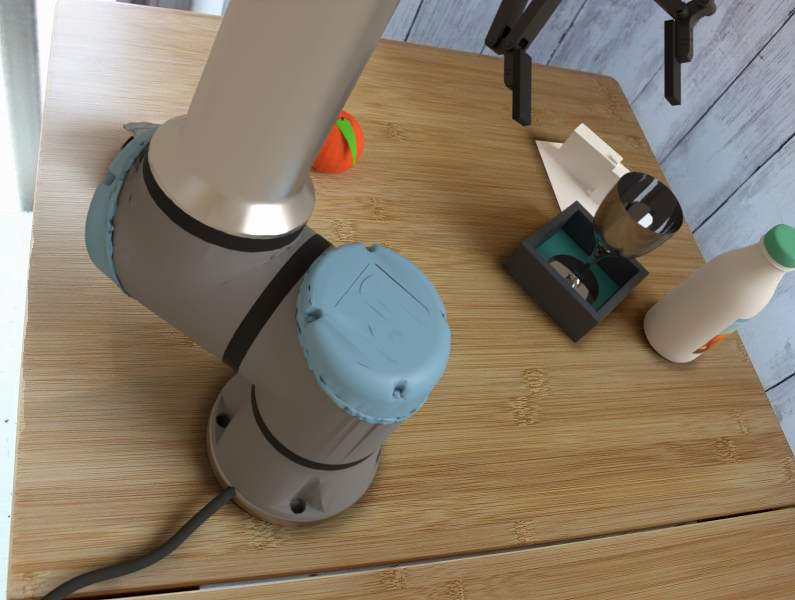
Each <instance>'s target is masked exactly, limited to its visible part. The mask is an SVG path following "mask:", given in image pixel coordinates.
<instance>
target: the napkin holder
mask: <svg viewBox="0 0 795 600" xmlns="http://www.w3.org/2000/svg"><path fill="white" fill-rule="evenodd" d="M535 144H536V146H537V149H538V153H539V155H540V157H541V160H542V163H543V165H544V168H545V171H546V174H547V176H548V178H549V182H550V185H551V187H552V190H553V193H554V195H555V198H556V201H557V203H558V206H559V208H560V211H561V212H562V211H563V210H565V209H566V208H567V207H569V206H570V205H571V204H572V203H574V202H575V201H576V200H577V201H578V202H579V203H580V204H581V205H582V206H583V207H584V208H585V209H586V210H587V211H588V212H589V213H590V214H591V215H592V216H593V217H594V216H595V213H596V211H597V208H598V206H599V205H600V203H601V201H602V199H603V198H604V196H605V195H606V193H607V192H608V191H609V190H610V189H611V187H612V186H613V185H614V184H615V183H616V182H617V181H618V180H619V179H620V177H622V176H623V175H624V174H626V173H629V172H631V171H630V170H629V169H628V168H627V167H626V166H624V165H623V164H622V163H621V162H622V161H623V160H624V157H622V156H621V155H620V154H619V153H618V152H617V151H616V150H614V149H613V148H612V147H611V146H609V144H608V143H606V141H604V140H603V139H602V138H600V136H598V135H597V134H596V133H595V132H593V130H592V129H590V128H589V127H588V126H587V125H586V124H584V123H583V122H582V123H581V124H579V125H578V126H577V127H575V129H574V130H573V131H572V132H571V134H570V135H569V136H568V137H567V139H566V140H565V141H564V142H562V143H561V142H554V141H546V140H545V141H544V140H535Z"/></svg>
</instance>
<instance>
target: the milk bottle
mask: <svg viewBox="0 0 795 600" xmlns="http://www.w3.org/2000/svg"><path fill="white" fill-rule="evenodd" d="M793 271H795V227H793V226H791V225H789V224H785V223H779V224H776V225H774V226H772V227H771V228H770V229H769V230H768V231H767V232H766V233H765V234H763V235H761V237H760V238H759V241H757V242H755V243H753V244H751V245H747V246H744V247H739V248H734V249H731V250H727V251H724V252H722V253H720V254H718V255H716V256H715V257H712V258H711V259H710V260H708V261H707V262H706V263H704V264H703V265H701V266H700V267H699V268H697V269H696V270H695V271H694V272H693V273H692V274H690V275H688V277H686V278H685V279H684V280H683V281H681V282H680V283H679V284H678V285H677V286H675V287H674V288H673V289H672V290H671V291H670V292H668V293H667V294H666V295H665V296H664V297H662V298H661V299H659V300H658V301H657V302H656V303H655V304H654V305H653V306H652V307H650V308H649V309H648V310H647V311H646V314H645V316H644V319H643V331H644V334H645V336H646V339H647V341H648V343H649V344H650V346H651V347H652V348H653V349H654V351H655V352H657V354H659V355H660V356H661V357H663V358H664V359H666V360H668V361H670V362H672V363H677V364H683V363H689V362H692V361H693V360H695V359H697V358H698V357H699V356H701V355H702V354H704V353H706V352H707V351H708V350H709V349H711V348H713V347H714V346H715V345H717V344H718V343H720V342H721V341H722V340H724V339H725V338H726V337H728V336H730V335H731V334H732V333H734V332H735V331H737V330H738V329H740V328H741V327H742V326H743V325H745V324H747V323H748V322H749V321H750V320H751V319H753V318H754V317H756V316H757V315H758V314H759V313H760V312H761V311H762V310H763V309H764V308H765V307H766V306H767V305H768V304H769V302H770V301H771V299H772V298H773V296H774V293H775V291H776V289H777V288H778V285H779V283H780V281H781V280H782V278H783V277H784V276H785V274H786V273H788V272H789V273H790V272H793Z"/></svg>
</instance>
